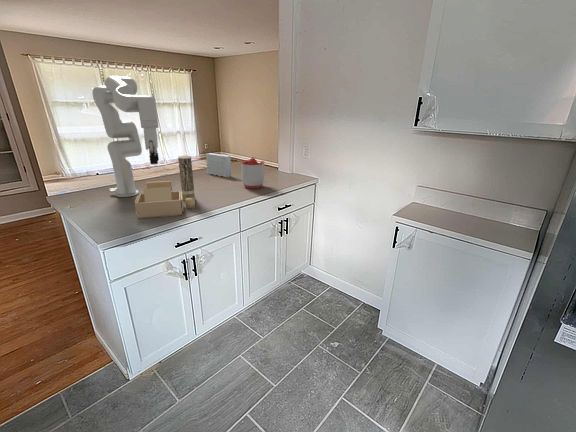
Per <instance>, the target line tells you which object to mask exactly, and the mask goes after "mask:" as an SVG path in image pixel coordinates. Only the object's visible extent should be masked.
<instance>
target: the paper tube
mask: <svg viewBox="0 0 576 432" xmlns="http://www.w3.org/2000/svg"><path fill="white" fill-rule="evenodd" d="M177 160H178V169H179V177H180V187H181V192H182V196H183V201H185V199H186V198H190V197H192V198H194V199H195V197H196V196H195V195H196V194H195V185H194V176H193V164H192V163H193V162H192V156H191V155H179V156H178V157H177Z"/></svg>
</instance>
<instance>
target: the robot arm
mask: <svg viewBox="0 0 576 432" xmlns="http://www.w3.org/2000/svg"><path fill="white" fill-rule="evenodd" d="M137 93H138V85H137V82H136V80H135V79H134V78H132V77H130V76H119V75H109V76H108V77H106V78H105V80H104V85H98V86H97V85H96V86H94V87H93V89H92V93H91V94H92V99H93V101H94V103H95V106H96V107H97V108H98V111H99V113H100V115H101V119H102V122H103V123H102V124H103V125H104V129H105V133H106V136H107V137H108V138H110V139H125V140H114V141H109V143H107V151H108V154H109V157H110V159H111V164H112V169H113V173H114V178H115V184H116V185H115V186H116V187H115V188H111V187H110V188H109V192H110V193H114V194H115V195H114V196H115V197H118V198H128V197H129V198H130V197H134V196H136V195H137V196H138V195H140V192H139V190H137V189H136V185H135V179H134V173H133V166H132V164H131V162H130V161H129V160H127V158H130V157H132V158H133V157H138V156H141V155H142V152H143V147H142V143H141V140H140V135H139V132H138V128H137V126H136V124H135V123H134V122H133V121H132V120H121V118H120V113H119V111H118V110H117V109H119V110H121V112H125V113H138V115H139V116H138V117H139V123H140V127H141V129H143V138H144V144H145V145H144V146H145V150H146V151H148V152H149V161H150V162H149V163H150V165H158V164H159V161H160V159H159V153H158V148H159V143H158V142H159V141H158V133H157V132H158V131H157V129H158V128H160V127H159V120H158V113H157V106H156V105H157V103H156V99H155V97H153V96H152V95H150V96H149V95H140V94H139V95H138V94H137ZM113 104H115V106H116V107H117V109H116V108H115V107H114V106H113ZM127 138H128V139H127ZM126 139H127V140H126Z"/></svg>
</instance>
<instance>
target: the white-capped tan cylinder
mask: <svg viewBox="0 0 576 432" xmlns="http://www.w3.org/2000/svg"><path fill="white" fill-rule="evenodd" d="M195 201H196V200H195V199H194V198H192V197H190V198H186V199H185V200H184V202H185V209H188V210H189V209H190V210H191V209H194V208H196V202H195Z"/></svg>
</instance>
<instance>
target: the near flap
mask: <svg viewBox="0 0 576 432" xmlns="http://www.w3.org/2000/svg"><path fill="white" fill-rule="evenodd" d="M171 192H172V191H171V187H160V188H147V187H146V188H144V187H143V193H144V198H145V202H152V201H166V200H172V198H171Z"/></svg>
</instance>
